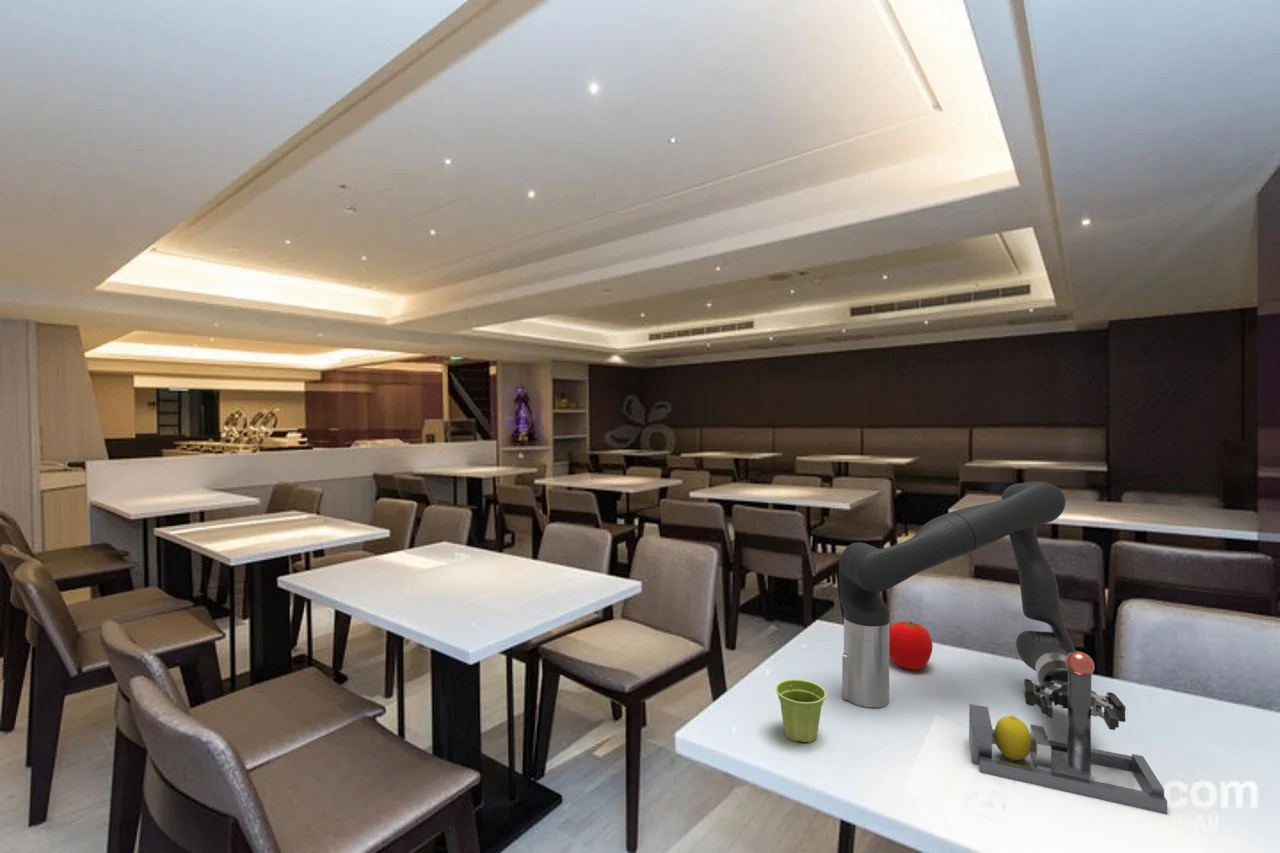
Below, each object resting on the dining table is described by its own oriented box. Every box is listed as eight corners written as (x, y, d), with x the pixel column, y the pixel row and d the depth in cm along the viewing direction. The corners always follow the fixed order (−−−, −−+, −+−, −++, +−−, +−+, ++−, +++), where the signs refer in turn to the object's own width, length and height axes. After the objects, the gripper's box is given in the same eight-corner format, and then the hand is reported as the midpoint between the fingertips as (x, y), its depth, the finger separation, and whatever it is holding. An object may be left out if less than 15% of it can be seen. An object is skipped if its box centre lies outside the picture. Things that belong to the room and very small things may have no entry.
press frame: (973, 770, 102) (973, 730, 102) (968, 734, 113) (968, 698, 113) (1167, 813, 90) (1167, 768, 90) (1140, 769, 102) (1140, 729, 102)
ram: (1037, 775, 100) (1038, 654, 99) (1029, 751, 107) (1030, 638, 107) (1099, 789, 96) (1100, 663, 96) (1087, 763, 103) (1088, 645, 103)
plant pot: (837, 740, 112) (837, 694, 111) (800, 754, 107) (800, 706, 107) (801, 718, 120) (801, 675, 120) (765, 730, 115) (765, 686, 115)
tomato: (892, 674, 140) (892, 628, 140) (880, 656, 150) (880, 614, 150) (939, 676, 138) (940, 630, 138) (924, 658, 149) (924, 615, 149)
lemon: (1037, 771, 101) (1037, 725, 101) (1001, 767, 103) (1001, 722, 102) (1023, 753, 107) (1023, 709, 107) (989, 750, 108) (989, 706, 108)
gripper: (1017, 653, 116) (1030, 687, 102) (1107, 666, 110) (1135, 705, 95) (1017, 691, 116) (1030, 731, 102) (1107, 706, 110) (1134, 751, 96)
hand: (1081, 718), depth 99 cm, fingers open, 8 cm apart
